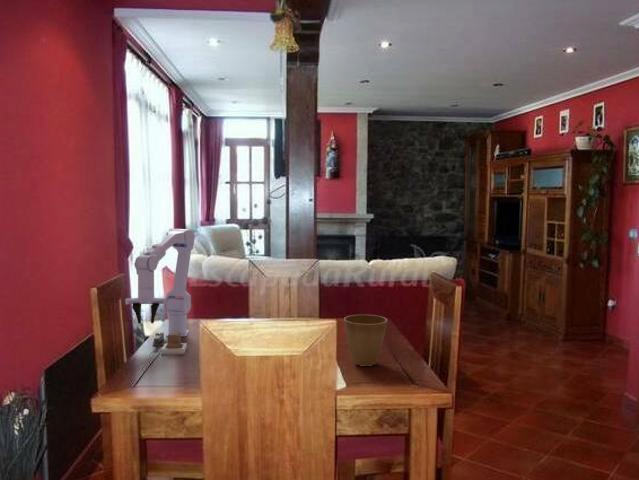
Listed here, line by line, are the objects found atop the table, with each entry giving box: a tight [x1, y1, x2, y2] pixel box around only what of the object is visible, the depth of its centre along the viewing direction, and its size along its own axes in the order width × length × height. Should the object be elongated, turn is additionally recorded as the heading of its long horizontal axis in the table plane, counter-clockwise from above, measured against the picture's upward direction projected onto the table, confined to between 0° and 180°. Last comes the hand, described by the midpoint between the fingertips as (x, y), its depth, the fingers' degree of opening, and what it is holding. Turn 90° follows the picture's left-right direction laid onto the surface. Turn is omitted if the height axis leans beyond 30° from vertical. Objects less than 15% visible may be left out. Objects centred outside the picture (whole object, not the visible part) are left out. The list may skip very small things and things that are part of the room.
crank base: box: [152, 332, 179, 347], centre depth 203 cm, size 6×10×4 cm, turn 97°
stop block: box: [167, 333, 182, 349], centre depth 193 cm, size 4×4×6 cm
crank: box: [153, 331, 165, 344], centre depth 199 cm, size 9×3×3 cm, turn 7°
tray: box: [160, 342, 188, 356], centre depth 193 cm, size 8×8×2 cm
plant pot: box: [343, 314, 388, 366], centre depth 183 cm, size 15×15×16 cm
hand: (146, 323), depth 197 cm, fingers open, 4 cm apart
